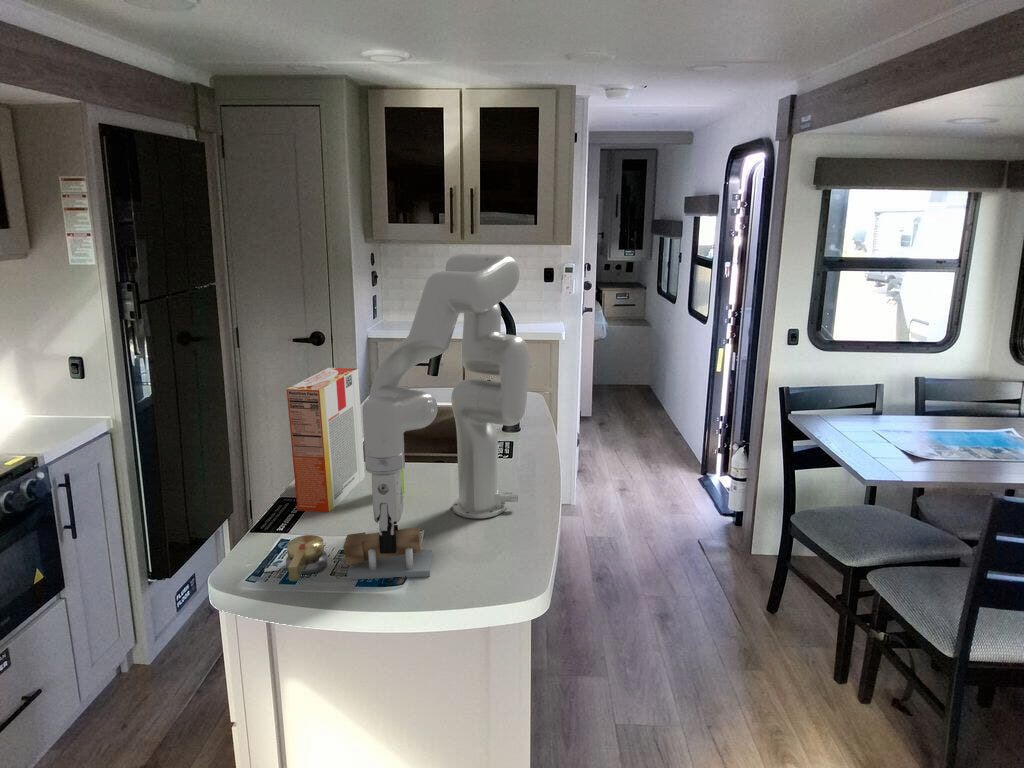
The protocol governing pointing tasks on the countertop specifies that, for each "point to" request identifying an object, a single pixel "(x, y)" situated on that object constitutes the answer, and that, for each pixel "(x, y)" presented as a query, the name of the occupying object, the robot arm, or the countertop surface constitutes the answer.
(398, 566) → the rack
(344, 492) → the orange cereal box
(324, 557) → the base
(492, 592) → the countertop surface
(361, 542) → the tan wooden bar
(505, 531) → the countertop surface
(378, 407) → the robot arm
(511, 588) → the countertop surface
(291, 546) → the gold lever handle
